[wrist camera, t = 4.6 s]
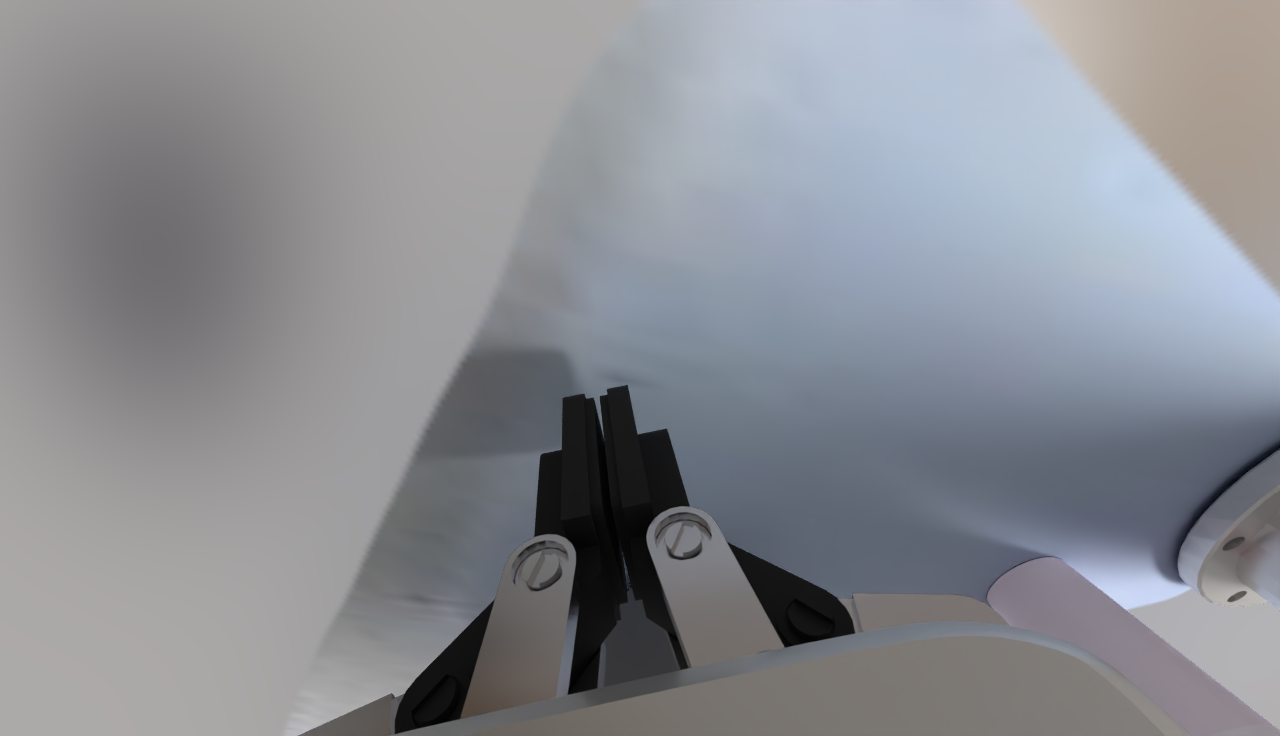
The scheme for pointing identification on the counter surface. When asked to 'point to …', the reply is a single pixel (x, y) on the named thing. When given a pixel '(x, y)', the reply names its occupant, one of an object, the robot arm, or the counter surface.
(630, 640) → the gray ball
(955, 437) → the counter surface
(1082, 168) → the counter surface
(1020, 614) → the smoothie
